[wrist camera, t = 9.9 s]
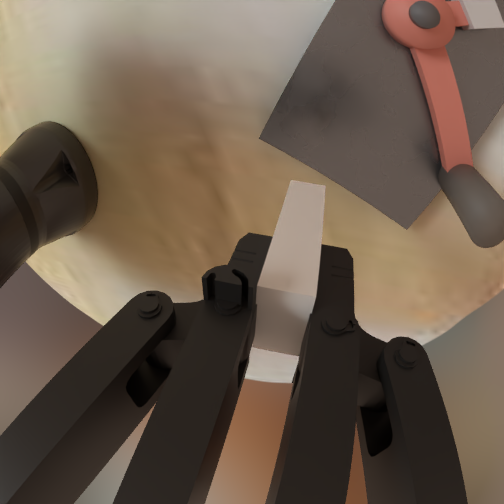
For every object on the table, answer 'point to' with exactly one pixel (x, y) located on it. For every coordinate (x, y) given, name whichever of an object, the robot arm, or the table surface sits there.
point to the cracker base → (380, 107)
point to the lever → (450, 102)
